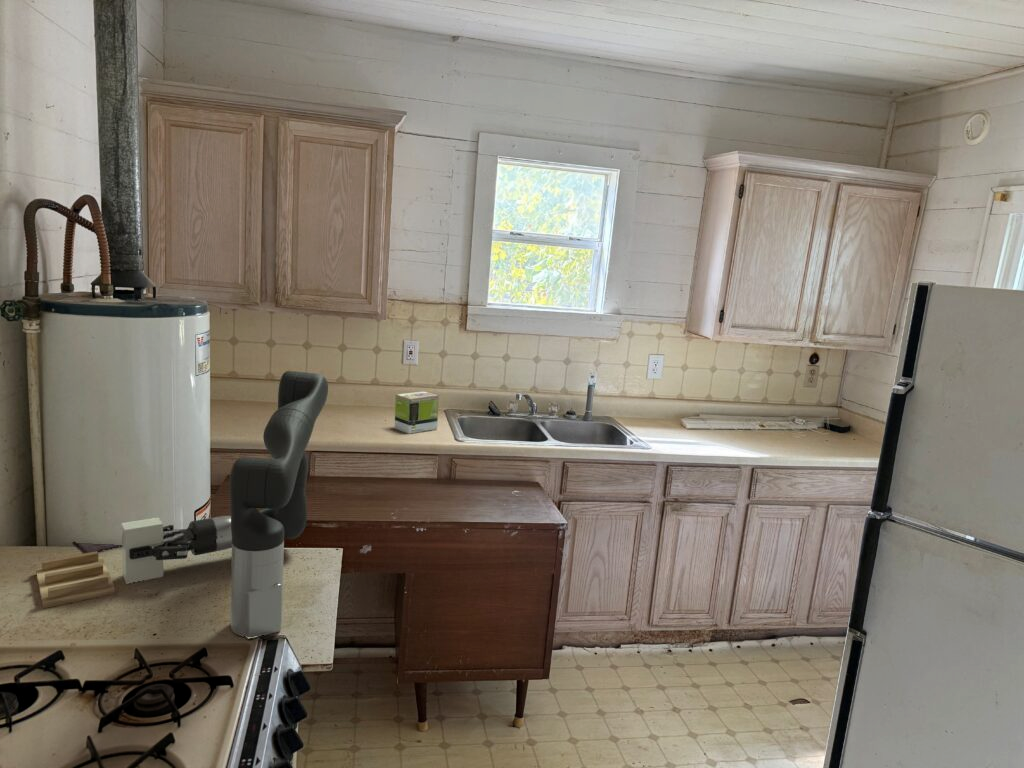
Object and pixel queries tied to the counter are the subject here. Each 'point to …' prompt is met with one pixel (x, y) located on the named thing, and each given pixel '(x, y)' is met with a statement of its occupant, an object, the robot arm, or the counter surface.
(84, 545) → the chocolate bar
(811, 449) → the counter surface
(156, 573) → the clay slab
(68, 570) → the rack
